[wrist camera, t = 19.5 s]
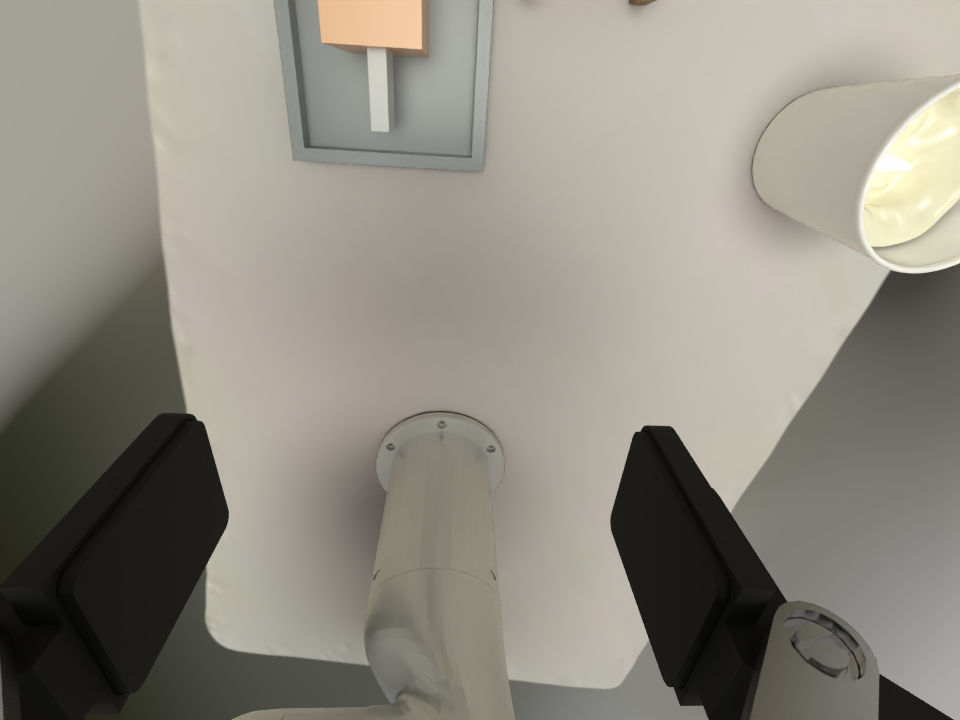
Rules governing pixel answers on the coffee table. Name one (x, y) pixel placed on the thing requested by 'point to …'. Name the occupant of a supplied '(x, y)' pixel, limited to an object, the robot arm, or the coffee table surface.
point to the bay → (640, 2)
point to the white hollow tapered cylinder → (871, 169)
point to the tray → (417, 92)
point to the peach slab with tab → (377, 42)
